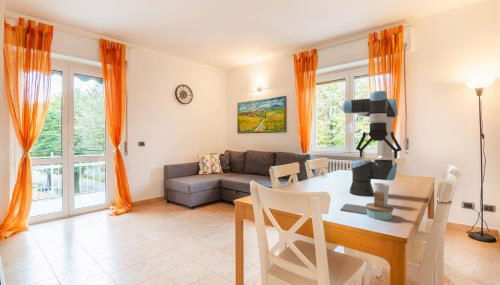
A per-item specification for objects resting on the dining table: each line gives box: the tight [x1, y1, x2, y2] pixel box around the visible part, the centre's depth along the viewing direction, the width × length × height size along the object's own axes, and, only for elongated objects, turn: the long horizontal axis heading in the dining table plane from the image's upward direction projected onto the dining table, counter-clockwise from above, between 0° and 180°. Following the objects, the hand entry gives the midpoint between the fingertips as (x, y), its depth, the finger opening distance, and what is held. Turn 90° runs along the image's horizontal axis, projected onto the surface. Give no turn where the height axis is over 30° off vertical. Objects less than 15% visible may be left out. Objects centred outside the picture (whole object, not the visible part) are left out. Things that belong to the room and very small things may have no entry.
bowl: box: [366, 209, 393, 221], centre depth 121 cm, size 11×11×4 cm
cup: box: [373, 182, 390, 205], centre depth 139 cm, size 8×8×12 cm
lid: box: [365, 191, 394, 212], centre depth 120 cm, size 12×12×8 cm
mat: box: [340, 203, 367, 216], centre depth 132 cm, size 13×13×1 cm
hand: (377, 164), depth 123 cm, fingers open, 13 cm apart
